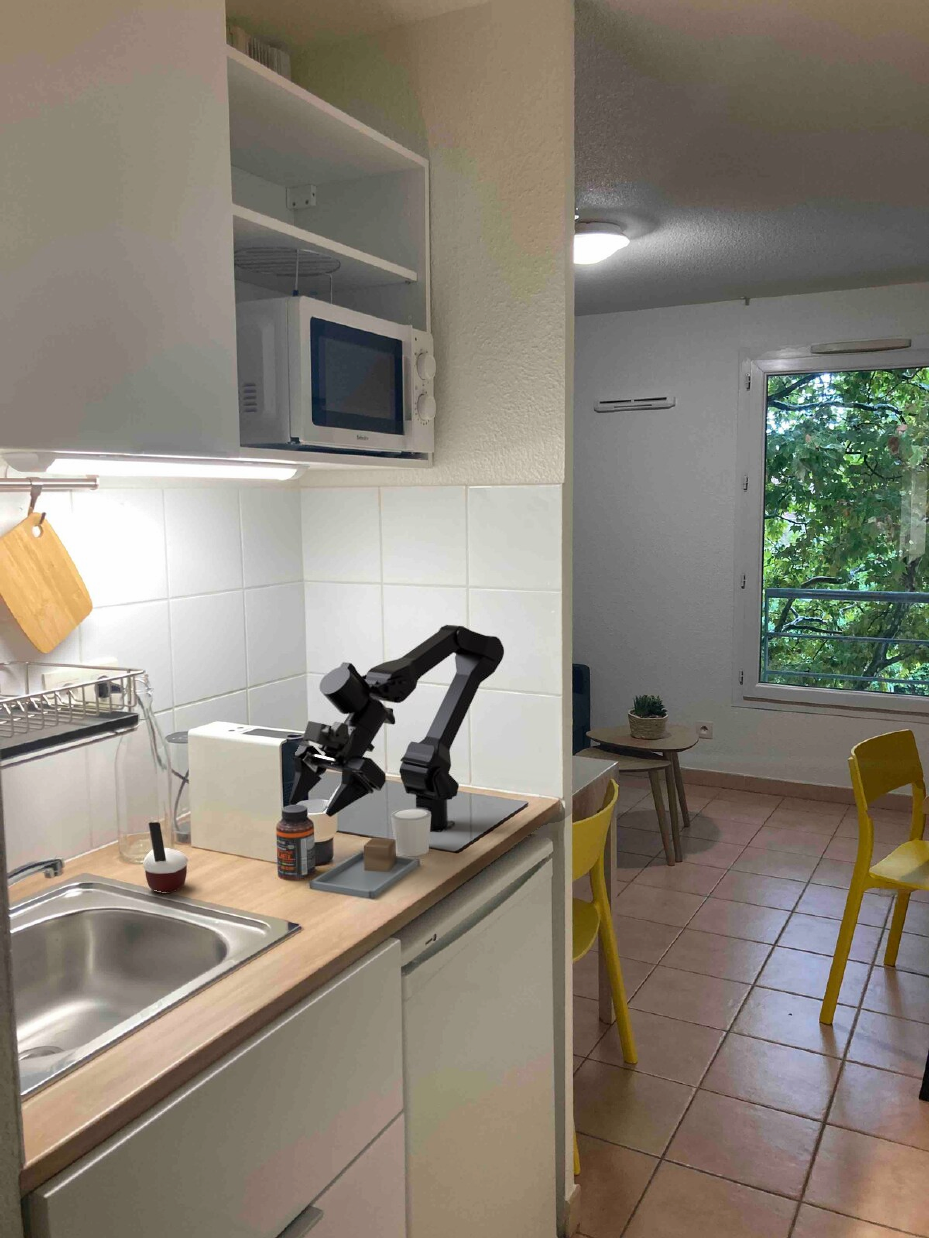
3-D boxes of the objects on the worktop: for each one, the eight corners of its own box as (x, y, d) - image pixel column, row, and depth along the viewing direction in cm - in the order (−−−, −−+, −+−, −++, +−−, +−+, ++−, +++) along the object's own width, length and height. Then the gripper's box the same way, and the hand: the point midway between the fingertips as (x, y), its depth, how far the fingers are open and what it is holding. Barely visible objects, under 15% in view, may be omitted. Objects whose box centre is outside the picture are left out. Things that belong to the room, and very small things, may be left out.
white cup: (439, 850, 169) (438, 810, 168) (419, 863, 163) (418, 821, 162) (404, 844, 172) (403, 805, 171) (383, 857, 166) (382, 816, 165)
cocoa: (168, 879, 159) (163, 805, 158) (201, 882, 156) (196, 807, 156) (128, 899, 150) (123, 820, 149) (162, 902, 148) (158, 823, 147)
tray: (360, 859, 165) (360, 850, 165) (419, 868, 160) (419, 858, 160) (309, 892, 151) (309, 881, 151) (372, 902, 147) (372, 892, 146)
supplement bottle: (269, 880, 156) (267, 810, 155) (293, 868, 162) (290, 800, 160) (300, 886, 154) (297, 815, 152) (323, 873, 159) (320, 804, 158)
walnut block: (373, 861, 162) (372, 837, 162) (396, 863, 161) (395, 839, 161) (364, 870, 158) (363, 845, 158) (388, 872, 157) (387, 847, 157)
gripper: (295, 695, 167) (243, 772, 160) (370, 708, 155) (318, 792, 148) (332, 733, 174) (284, 809, 167) (407, 748, 161) (358, 831, 154)
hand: (309, 809), depth 159 cm, fingers open, 9 cm apart
